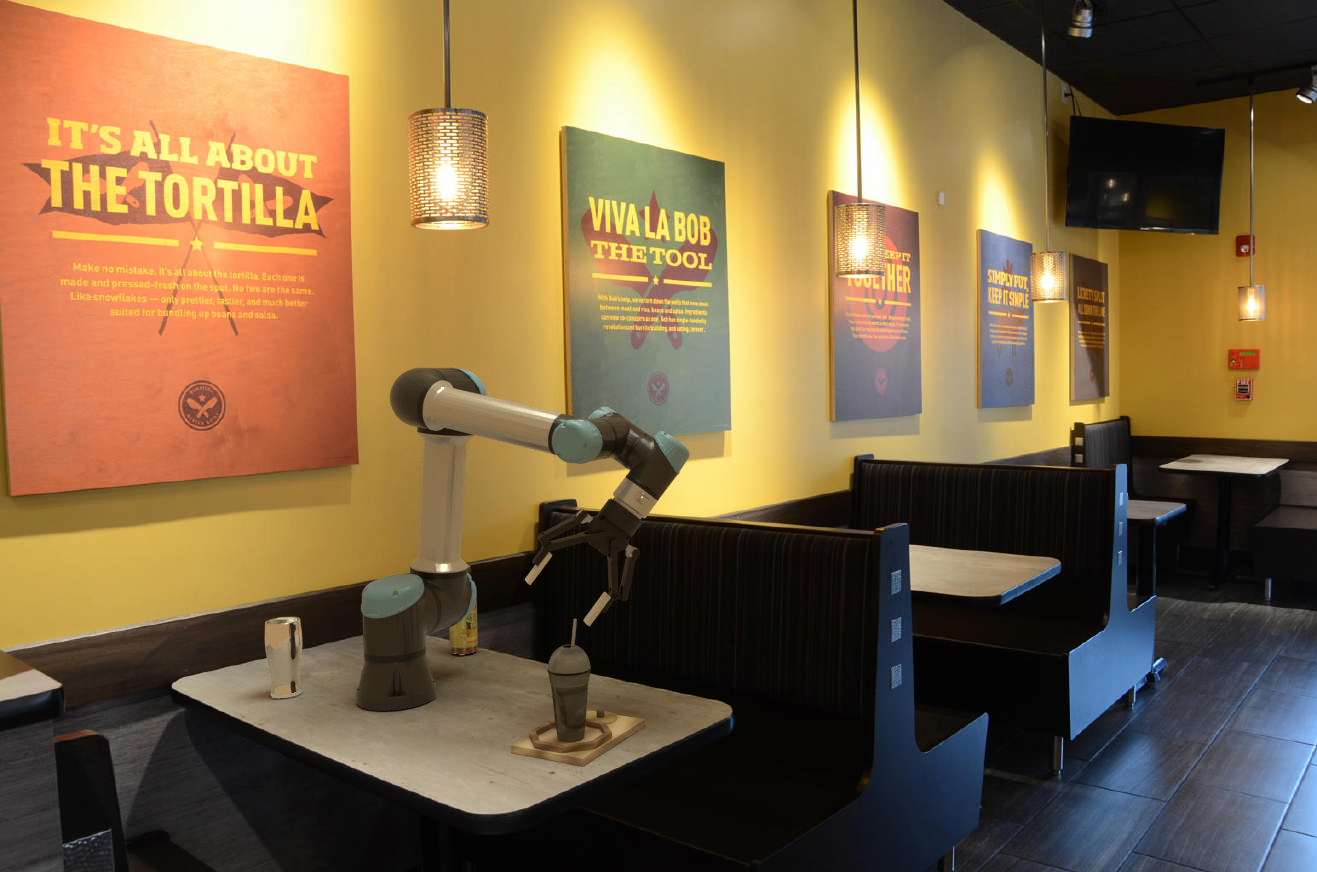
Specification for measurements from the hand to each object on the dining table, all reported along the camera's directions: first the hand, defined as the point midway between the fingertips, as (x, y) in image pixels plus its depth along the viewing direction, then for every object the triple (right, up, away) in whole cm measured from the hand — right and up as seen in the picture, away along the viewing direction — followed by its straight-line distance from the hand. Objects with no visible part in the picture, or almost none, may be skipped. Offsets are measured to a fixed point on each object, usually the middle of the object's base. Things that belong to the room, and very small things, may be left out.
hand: (557, 603), depth 175 cm
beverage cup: (+4, -20, -13) cm, 25 cm away
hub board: (+5, -21, -11) cm, 24 cm away
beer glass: (-56, -22, +19) cm, 63 cm away
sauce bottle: (-26, -20, +47) cm, 57 cm away
